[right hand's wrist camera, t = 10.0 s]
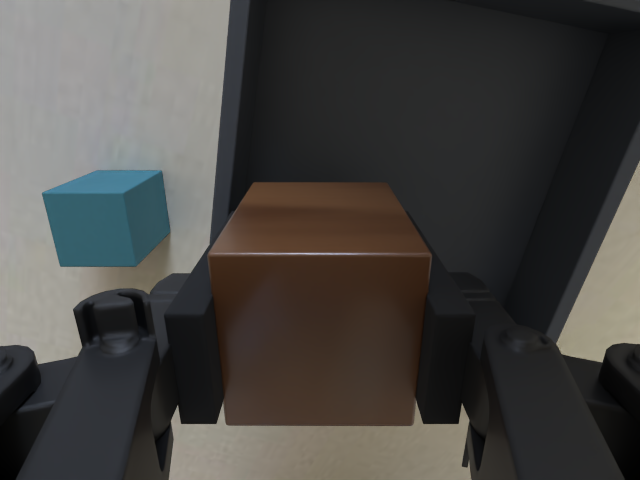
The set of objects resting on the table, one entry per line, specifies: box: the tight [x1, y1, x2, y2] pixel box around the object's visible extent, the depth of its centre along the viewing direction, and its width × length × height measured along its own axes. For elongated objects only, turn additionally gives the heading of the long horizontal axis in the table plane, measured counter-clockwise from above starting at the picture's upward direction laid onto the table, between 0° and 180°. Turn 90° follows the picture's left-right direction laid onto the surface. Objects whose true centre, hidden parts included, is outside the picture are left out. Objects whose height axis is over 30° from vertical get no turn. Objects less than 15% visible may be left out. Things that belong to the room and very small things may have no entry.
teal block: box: [42, 171, 170, 267], centre depth 26 cm, size 4×4×6 cm
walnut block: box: [207, 182, 432, 426], centre depth 12 cm, size 4×4×6 cm
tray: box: [210, 0, 640, 344], centre depth 14 cm, size 24×14×5 cm, turn 170°
